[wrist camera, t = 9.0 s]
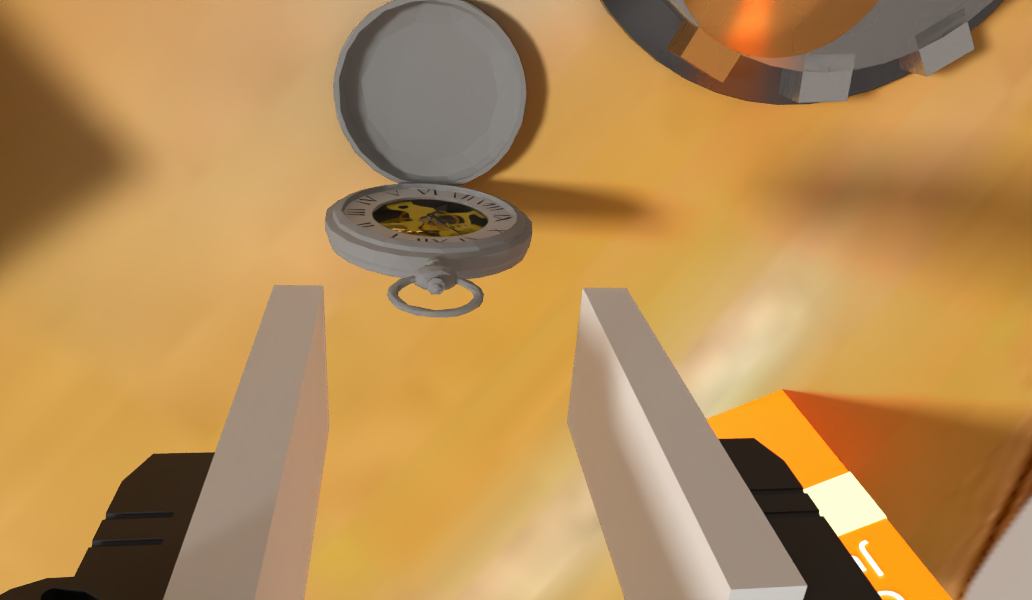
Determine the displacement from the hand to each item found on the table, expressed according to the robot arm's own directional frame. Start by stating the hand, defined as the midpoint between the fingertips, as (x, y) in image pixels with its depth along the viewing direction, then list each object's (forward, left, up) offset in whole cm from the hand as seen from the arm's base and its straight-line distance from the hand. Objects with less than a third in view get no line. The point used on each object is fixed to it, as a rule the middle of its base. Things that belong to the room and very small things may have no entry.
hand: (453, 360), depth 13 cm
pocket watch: (0, 0, -17) cm, 17 cm away
